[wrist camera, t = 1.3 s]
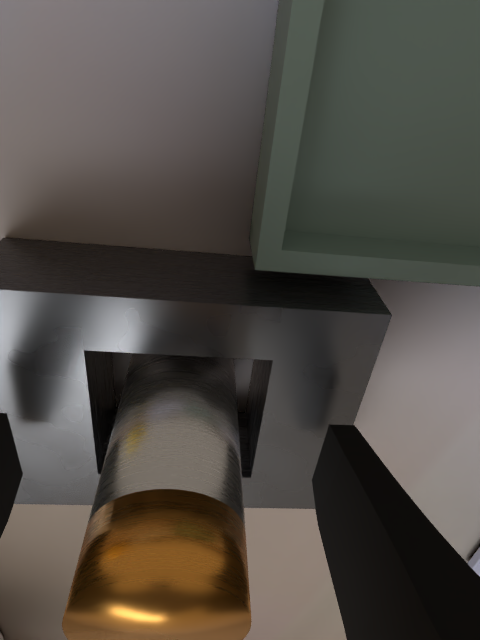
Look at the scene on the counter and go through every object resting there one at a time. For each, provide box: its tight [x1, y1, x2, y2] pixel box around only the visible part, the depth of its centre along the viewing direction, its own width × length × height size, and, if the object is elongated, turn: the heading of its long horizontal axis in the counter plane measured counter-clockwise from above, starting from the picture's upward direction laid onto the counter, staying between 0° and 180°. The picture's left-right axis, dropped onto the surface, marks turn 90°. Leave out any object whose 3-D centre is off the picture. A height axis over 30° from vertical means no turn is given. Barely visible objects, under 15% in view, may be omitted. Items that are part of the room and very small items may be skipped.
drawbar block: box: [0, 238, 392, 509], centre depth 12 cm, size 9×7×2 cm
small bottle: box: [62, 353, 251, 640], centre depth 10 cm, size 3×3×7 cm
